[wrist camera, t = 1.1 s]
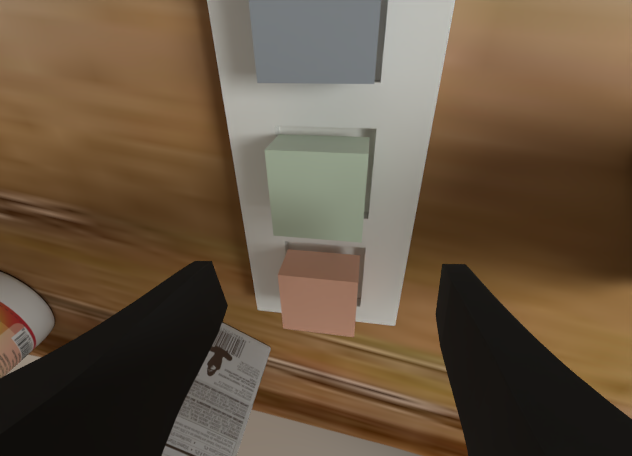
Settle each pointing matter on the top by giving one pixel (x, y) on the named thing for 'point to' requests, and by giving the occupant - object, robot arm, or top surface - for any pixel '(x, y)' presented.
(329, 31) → the key slate
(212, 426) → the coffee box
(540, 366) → the robot arm
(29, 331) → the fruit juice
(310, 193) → the key sage
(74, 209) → the top surface
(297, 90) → the keypad
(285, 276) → the key terracotta
